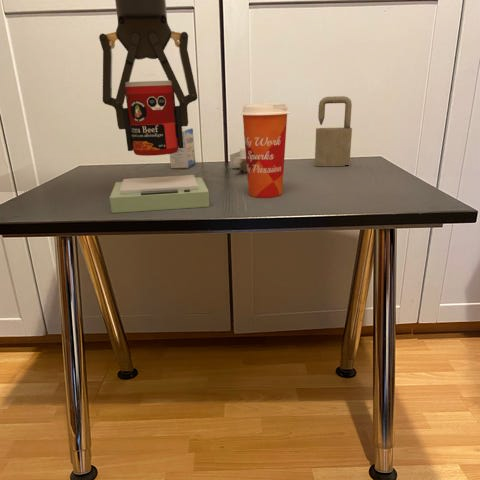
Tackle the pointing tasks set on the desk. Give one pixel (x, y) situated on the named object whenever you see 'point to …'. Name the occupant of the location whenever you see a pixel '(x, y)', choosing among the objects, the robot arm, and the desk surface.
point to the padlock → (333, 137)
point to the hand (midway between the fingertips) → (155, 148)
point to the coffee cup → (265, 147)
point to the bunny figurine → (239, 159)
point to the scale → (159, 194)
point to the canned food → (152, 117)
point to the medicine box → (184, 151)
